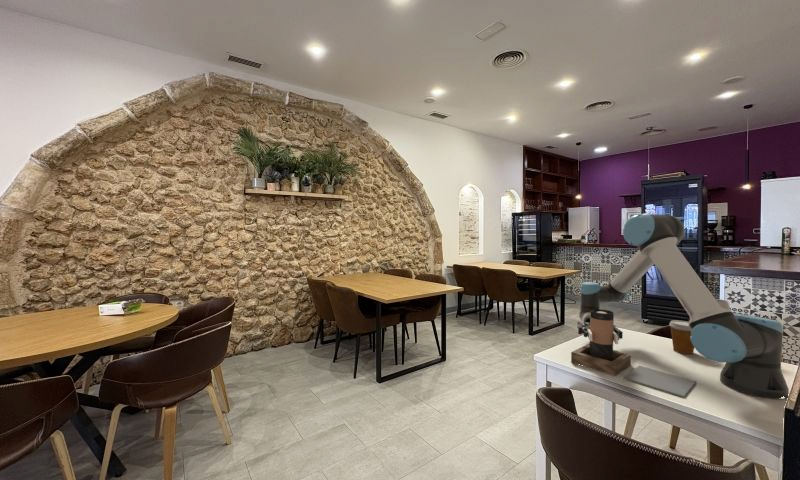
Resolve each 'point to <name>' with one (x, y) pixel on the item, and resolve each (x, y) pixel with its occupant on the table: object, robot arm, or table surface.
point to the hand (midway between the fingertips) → (603, 338)
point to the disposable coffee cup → (681, 337)
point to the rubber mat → (660, 381)
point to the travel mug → (601, 334)
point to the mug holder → (601, 361)
